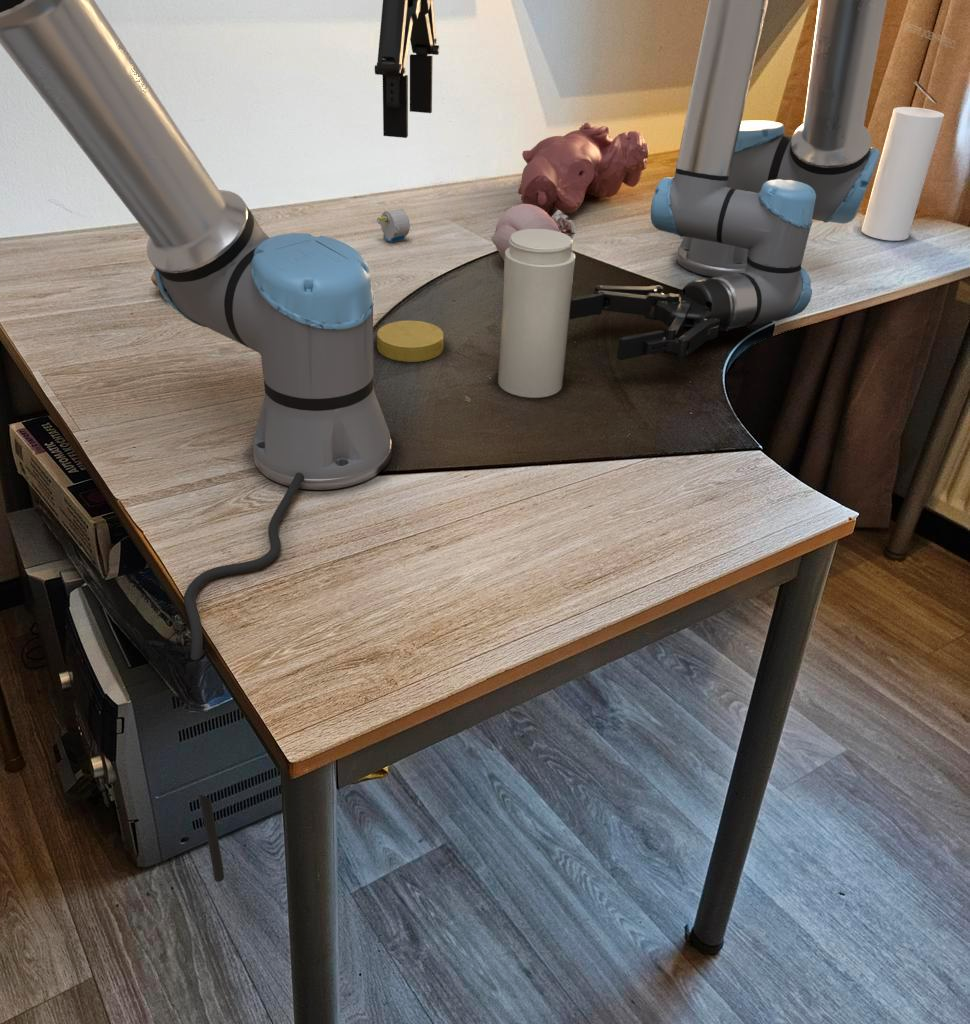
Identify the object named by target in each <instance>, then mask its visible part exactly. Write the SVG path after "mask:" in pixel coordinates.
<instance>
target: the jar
mask: <svg viewBox="0 0 970 1024" xmlns="http://www.w3.org/2000/svg"><path fill="white" fill-rule="evenodd" d="M509 243H510V247H509V248H507V250H506V251H505V261H504V265H503V267H504V268H503V281H502V282H503V284H502V297H501V298H502V300H501V318H500V334H499V350H498V369H497V384H498V386H499V387H500V389H502V390H503V391H504V392H506V393H508V394H511V395H513V396H516V397H521V398H526V399H527V398H529V399H540V398H541V399H542V398H546V397H551V396H554V395H556V394H557V393H559V392H560V391H561V390H562V389H563V385H564V375H565V366H566V355H567V345H568V335H569V326H570V325H569V324H570V319H569V316H570V306H571V298H572V294H573V285H574V275H575V264H576V254H575V252H574V251H573V250H572V249H573V238H572V239H571V237H569V236H568V235H566V234H564V233H561V232H558V231H553V230H547V229H526V230H520V231H517V232H515V233H513V234H512V235H511V237H510V240H509Z"/></svg>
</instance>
